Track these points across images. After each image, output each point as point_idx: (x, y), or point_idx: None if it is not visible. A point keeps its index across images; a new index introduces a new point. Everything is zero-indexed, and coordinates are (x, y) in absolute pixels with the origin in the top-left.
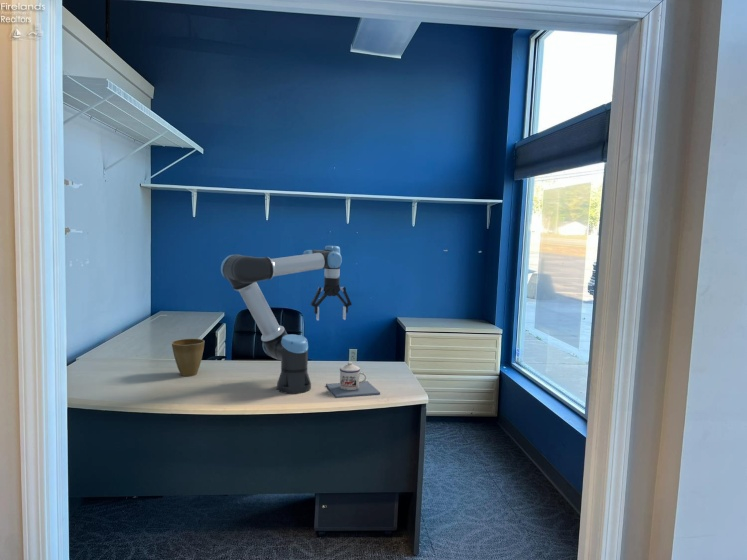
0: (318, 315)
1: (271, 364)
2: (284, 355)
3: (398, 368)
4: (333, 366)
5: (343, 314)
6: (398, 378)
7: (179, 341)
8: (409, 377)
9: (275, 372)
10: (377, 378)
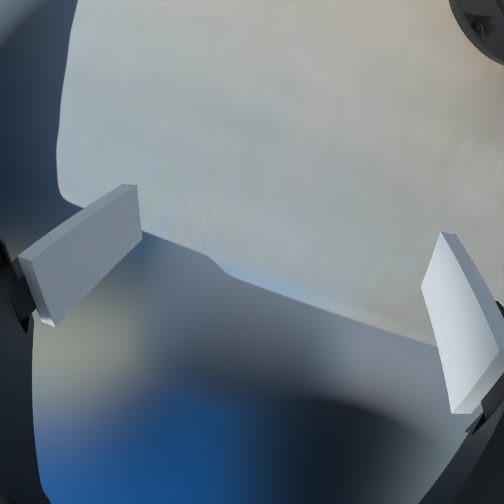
0: (467, 265)
1: None
2: None
3: (69, 125)
4: (268, 212)
5: (109, 243)
6: (102, 11)
7: None
8: (73, 23)
9: (492, 220)
10: (162, 13)
